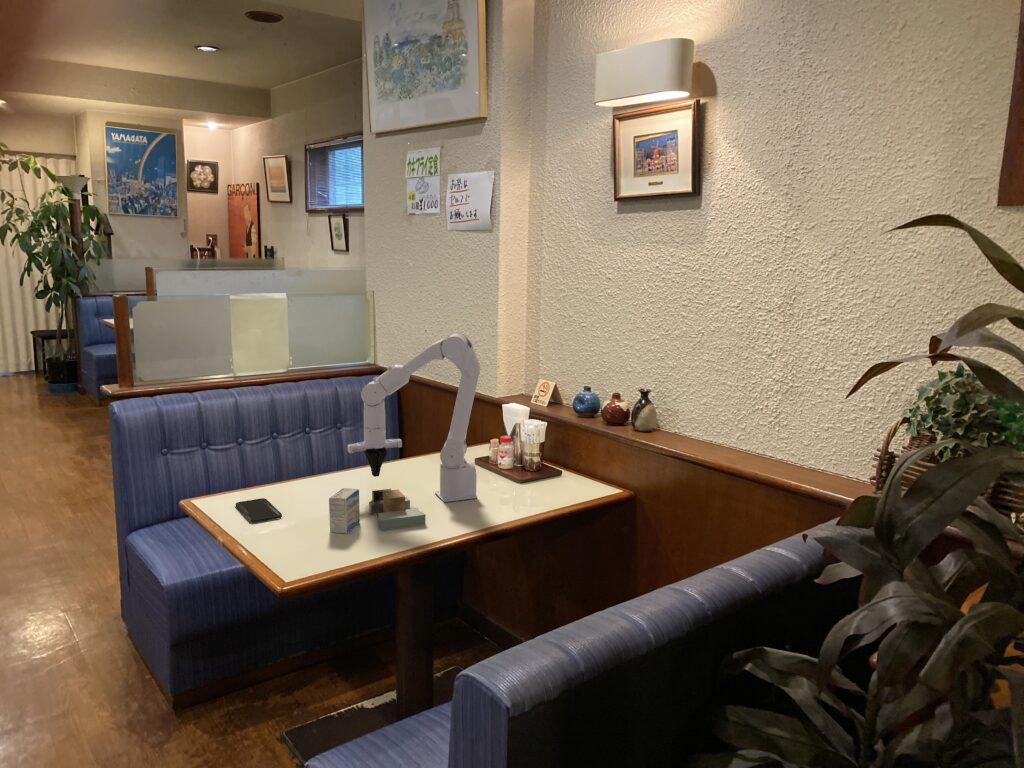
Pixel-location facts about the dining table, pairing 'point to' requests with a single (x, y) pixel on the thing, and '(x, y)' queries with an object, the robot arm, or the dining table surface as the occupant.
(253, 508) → the phone
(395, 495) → the walnut block
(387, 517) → the teal flat block
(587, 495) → the dining table surface
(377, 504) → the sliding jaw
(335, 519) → the medicine box
